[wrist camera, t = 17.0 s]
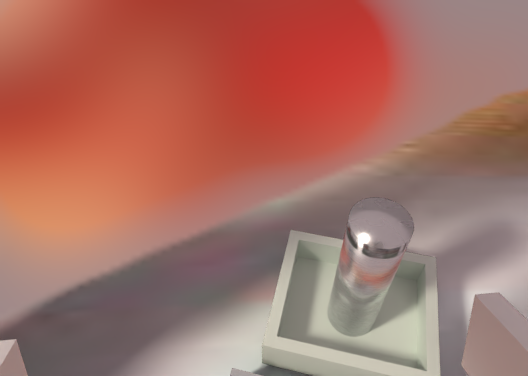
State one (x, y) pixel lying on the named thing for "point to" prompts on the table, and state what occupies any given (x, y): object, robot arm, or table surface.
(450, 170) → the table surface
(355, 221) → the shiny metal cylinder
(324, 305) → the parts tray
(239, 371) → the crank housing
